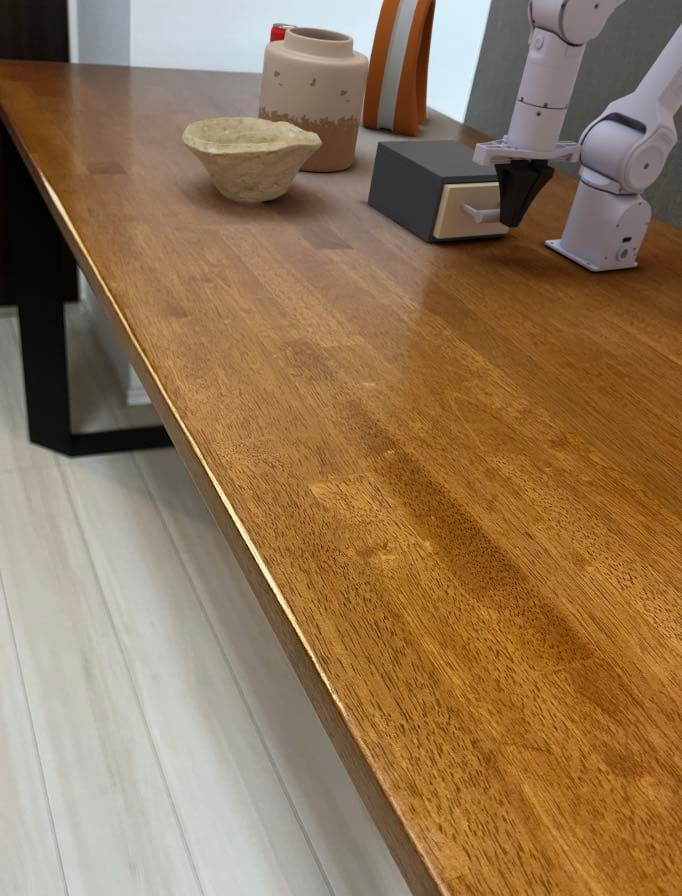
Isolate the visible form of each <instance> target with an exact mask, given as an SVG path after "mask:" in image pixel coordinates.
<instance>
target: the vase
mask: <svg viewBox="0 0 682 896" xmlns="http://www.w3.org/2000/svg"><path fill="white" fill-rule="evenodd" d="M369 62H370V59H369V58H368V57H367V56H366V55H365V54H363V53H362V52H360V51H358V50H354V37H352V36H350V35H348V34H346V33H343V32H339V31H335V30H331V29H324V28H318V27H308V26H307V27H306V26H297V27H292V28H288V29H287V30H286V32H285V38H284V40H279V41H273V42H270V41H269V42H268V43H267V44H266V46H265V48H264V54H263V63H262V72H261V73H262V74H261V84H260V95H259V96H260V97H259V107H258V117H257V118H259V119H264V120H269V121H272V122H279V121H284V122H288V123H290V124H292V125H295V126H297V127H298V128H300V129H302V130H304V131H307V132H313V133H316V134H317V135H318V136H319V138H320V140H321V142H322V145H321V147H320V148H319V149H318V150H316V151H315V152H314V153H313V154H312V155H311V156H310V157H309V158H308V159H307V160H306V161H305V162H304V163H303V165H302V166H301V168H300V169H299V171H305V172H315V173H331V172H339V171H343V170H346V169H348V168H350V167H351V166H352V164H353V162H354V159H355V153H356V147H357V141H358V134H359V129H360V124H361V123H360V122H361V118H362V117H361V116H362V112H363V104H364V96H365V88H366V80H367V74H368V68H369Z"/></svg>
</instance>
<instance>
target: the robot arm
mask: <svg viewBox="0 0 682 896" xmlns="http://www.w3.org/2000/svg"><path fill="white" fill-rule="evenodd" d="M625 1H626V0H529V1H528V4H527V12H526V13H527V21H528V23H529V28H530V33H529V38H528V41H527V44H528V45H529V46H528V53H527V57H526V60H525V65H524V69H523V73H522V76H521V80H520V84H519V87H518V93H517V96H516V101H515V104H514V107H513V112H512V115H511V119H510V124H509V127H508V132H507V134H504V135H503V136H502V139H497V140H493V141H488V142H482V143H481V142H480V143H479V142H478V143H476V144H475V148H474V150H475V152H474V156H473V160H472V161H473V162H475V163H477V164H480V165H481V166H489V165H490V164H495V165H494V167H495V170H496V173H497V178H498V183H499V190H500V223H502V224H503V225H505V226H507V227H509V229H511V228H513V229H514V228H519V226H520V224H521V222H522V221H523V220H522V219H523V217H524V215H525V213H526V214H527V211H528V210H529V208H530V207H531V205H532V203H533V202H534V200H535V198H536V197H537V196H538V194H539V193H540V192H541V190H543V188H544V187H545V186H546V185H547V183H549V182H550V181H551V180H552V179H553V177H554V174H555V171H556V169H555V168H554V167H552V166H550V165H548V164H549V163H550V162H552V163H554V162H568V163H571V164H575V163H576V164H578V165H579V166H580V167H579V170H578V173H577V175H578V176H580V180H579V183H578V186H577V189H576V192H575V195H574V199H573V201H572V204H571V208H570V210H569V214H568V216H567V219H566V223H565V226H564V229H563V232H562V235H561V238H559V239H558V238H557V239H548V240H547V239H546V240H545V241H544V245H545V246H547V247H549V248H550V249H552V250H554V251H555V252H557V253H559V254H561V255H563V257H564V256H565V257H566V258H568V259H570V260H572V262H573V261H574V262H575V263H577V264H579V265H580V266H582V267H584V268H586V269H588V270H589V271H591V272H603V271H612V270H622V269H631V268H636V267H638V262H636V258H637V256H638V253H639V251H640V248H641V245H642V244H643V240H644V238H645V235H646V232H647V231H648V228H649V225H650V223H651V219H652V207H651V204H649V202H648V201H646V200H645V199H643V198H642V196H641V194H644V192H645V190H646V189H648V188H649V187H650V186H651V185H652V184H653V183H654V182H655V181H656V180H657V179H658V178H659V176H660V174H661V173H662V171H663V169H664V166H665V165H666V161H667V159H668V157H669V154H670V153H671V151H672V149H673V148H674V146H675V145H676V144H677V143H678V134H677V129H676V125H675V122H674V116H675V115H676V113H677V112H678V110H679V108H681V106H682V23H681V24H680V26H679V27H678V28H677V29H676V31H675V33H674V34H673V36H672V37H671V38H670V40H669V41H668V42H667V44H666V46H665V47H664V48H663V50H662V51H661V53H660V54H659V56H658V57H657V59H656V60H655V61H654V63H653V64H652V66H651V67H650V68H649V70H648V71H647V73H646V74H645V76H644V77H643V78H642V80H641V81H640V83H639V84H638V86H637V87H636V89H635V90H634V91H633V92H631V93H630V94H627V95H625V96H623V97H620V98H618V99H616V100H613V101H612V102H610V103H609V104H608V105H607V107H606V108H605V109H604V111H603V112H602V113H601V114H600V116H598V117H597V118H596V119H594V120H593V121H592V122H591V123H589V124H588V126H586V128H585V129H584V131H582V133H581V135H580V137H579V140H578V141H577V142H575V141H572V140H559V139H560V135H561V132H562V127H563V125H564V121H565V118H566V114H567V112H568V108H569V104H570V101H571V97H572V94H573V90H574V87H575V84H576V80H577V77H578V74H579V70H580V67H581V64H582V60H583V57H584V53H585V49H586V47H587V43H588V42H589V41H591V40H594V39H596V38H597V37H598V36H599V34H600V33H601V31H602V30H603V28H604V27H605V26H606V23H607V20H608V18H609V17H610V16H611V15H612V14H613V13H614V12H615V9H617V7H618V6H620V5H621V4H623V3H624V2H625Z"/></svg>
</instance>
